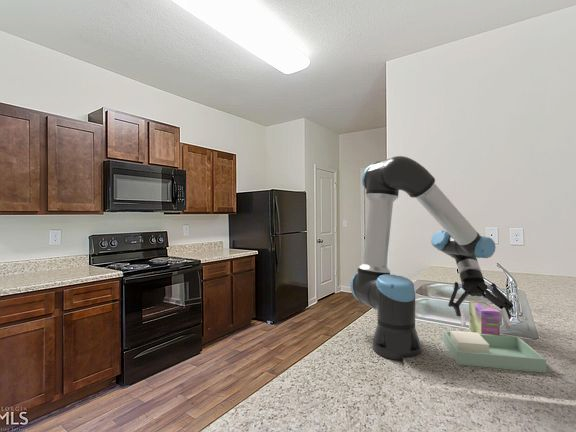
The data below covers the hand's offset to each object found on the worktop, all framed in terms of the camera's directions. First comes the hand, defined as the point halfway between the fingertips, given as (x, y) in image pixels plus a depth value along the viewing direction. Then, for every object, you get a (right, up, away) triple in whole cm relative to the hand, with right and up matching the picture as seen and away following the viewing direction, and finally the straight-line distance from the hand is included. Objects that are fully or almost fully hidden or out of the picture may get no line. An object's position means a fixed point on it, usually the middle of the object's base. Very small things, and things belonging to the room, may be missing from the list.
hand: (486, 326), depth 102 cm
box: (0, -6, +2) cm, 6 cm away
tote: (-7, -6, -12) cm, 15 cm away
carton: (-12, -5, -10) cm, 17 cm away
